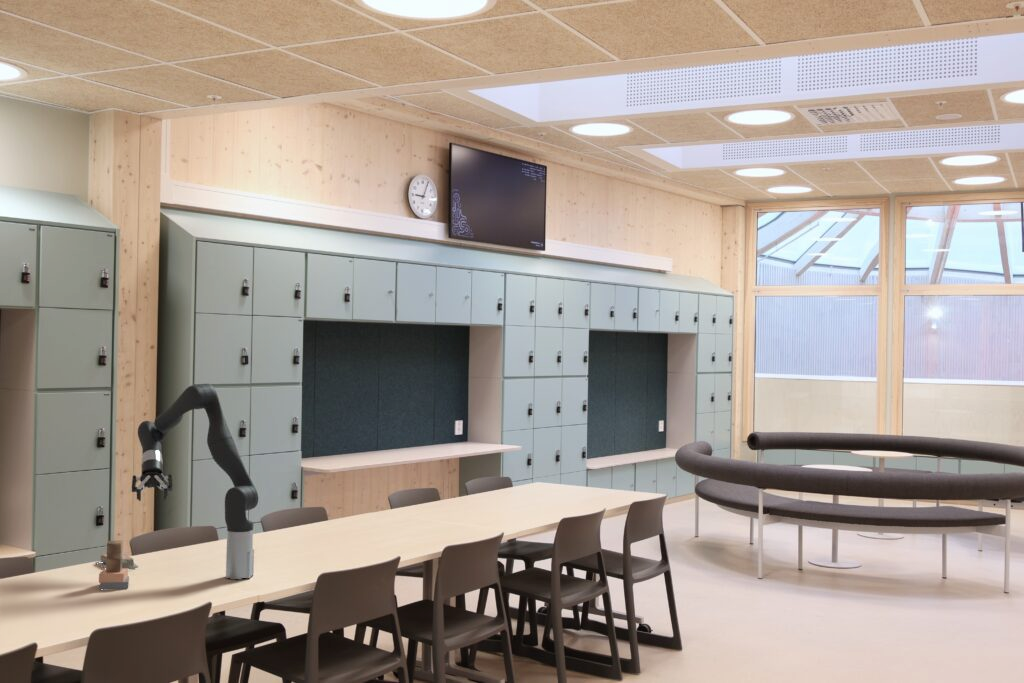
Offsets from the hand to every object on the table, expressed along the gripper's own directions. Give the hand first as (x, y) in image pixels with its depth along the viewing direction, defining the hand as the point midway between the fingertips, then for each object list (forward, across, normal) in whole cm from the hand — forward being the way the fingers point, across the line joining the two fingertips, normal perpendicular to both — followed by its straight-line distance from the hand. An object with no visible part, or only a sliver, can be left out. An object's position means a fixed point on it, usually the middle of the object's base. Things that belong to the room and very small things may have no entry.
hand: (152, 499), depth 358 cm
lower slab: (+32, -12, +8) cm, 35 cm away
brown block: (+27, -12, +4) cm, 30 cm away
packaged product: (+8, -12, +32) cm, 35 cm away
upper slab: (+30, -12, +6) cm, 33 cm away
